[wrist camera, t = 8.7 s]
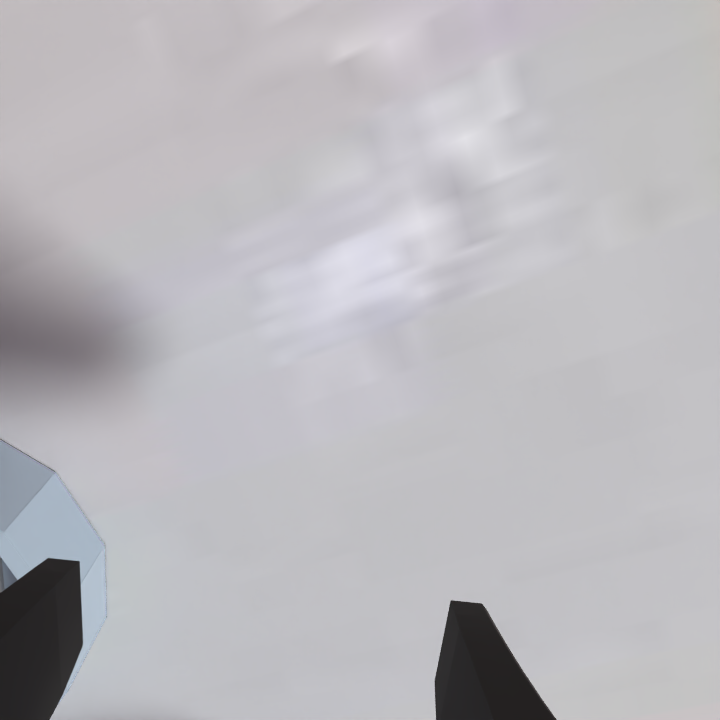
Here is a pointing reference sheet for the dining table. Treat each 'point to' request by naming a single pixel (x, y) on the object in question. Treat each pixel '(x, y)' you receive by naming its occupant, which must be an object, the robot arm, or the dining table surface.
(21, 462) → the pale blue round tray
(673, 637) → the dining table surface
